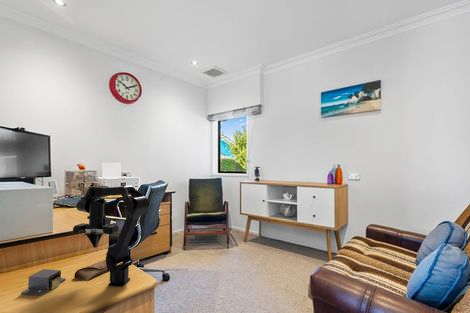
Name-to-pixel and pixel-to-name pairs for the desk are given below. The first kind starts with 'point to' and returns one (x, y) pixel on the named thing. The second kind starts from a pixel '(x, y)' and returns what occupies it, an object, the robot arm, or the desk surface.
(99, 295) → the desk surface
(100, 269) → the sunglasses case
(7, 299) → the desk surface
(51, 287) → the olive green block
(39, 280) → the flanged grey block
